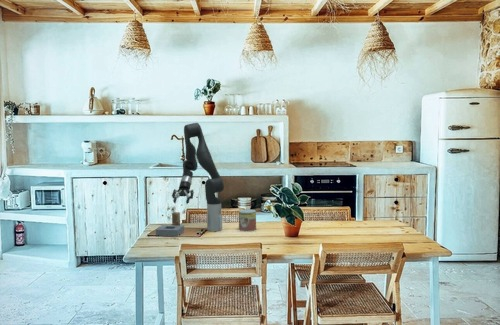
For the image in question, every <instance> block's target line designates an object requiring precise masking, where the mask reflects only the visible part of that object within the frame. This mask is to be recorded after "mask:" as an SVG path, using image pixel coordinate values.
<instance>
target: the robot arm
mask: <svg viewBox="0 0 500 325" xmlns="http://www.w3.org/2000/svg"><path fill="white" fill-rule="evenodd" d="M203 133H204V132H203V130H202V126H201V125H200V123H198V122H193V123H188V124H185V125H184V127H183V136H184V137H183V138H184V143H185V145H184V146H185V160H184V161H183V162H182V171H183V172H182V176H181V179H180V182H179V187H178V189H177V190H176V189H173V191H172V193H171V198H172V199H173V201H172V202H173V203H174V204H176V203H177V201H178V200H177V199H178V198H180V197H186V201H185V202H186V205H188V204H189V203H190V200H193V199H194V193H195V192H194V190H193V189H191V185H192V180H193V176H194V173H193V171H194V172H195V171H197V169H198V164H199V166H200V167H201V168H202V169H203V170H204V171H206V172H207V173H208V174H209V176H210V178H208V179H206V180H205V183H204V192H205V200H206V224H207V226H206V228H207V231H209V232H220V231H222V229H223V213H222V199H221V198H219V197H217V196H216V193H221V192H223V191H224V187H225V186H224V181H223V178H222V177H221V176H220V173H219V172H218V169H217V167H216V165H215V163H214V160H213V156H212V154H211V152H210V150H209V148H208V144H207V142H206V140H205V135H204V134H203ZM192 138H197V139H198V144H197V147H195V145H193V143H192V142H191V139H192ZM196 148H197V149H196ZM189 194H190V195H189Z"/></svg>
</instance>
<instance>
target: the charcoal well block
mask: <svg viewBox="0 0 500 325" xmlns="http://www.w3.org/2000/svg"><path fill="white" fill-rule="evenodd" d="M183 231H184V232H185V225H180V226H175V225H172V224H171V225H169V224H167V225H165V224H163V225H161V226H158V227H157V228H155V236H156V237H174V236H178V235H179V234H181V233H182V232H183ZM184 232H183V233H184ZM183 233H182V234H183ZM182 234H181V235H182ZM158 235H159V236H158ZM162 235H164V236H162ZM165 235H166V236H165ZM167 235H169V236H167ZM179 236H180V235H179ZM179 236H178V237H179Z"/></svg>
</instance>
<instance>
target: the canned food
mask: <svg viewBox="0 0 500 325" xmlns="http://www.w3.org/2000/svg"><path fill="white" fill-rule="evenodd" d="M238 230H239V231H241V232H254V231H256V230H257V210H255V209H250V208H249V209H240V210H238Z"/></svg>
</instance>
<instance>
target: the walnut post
mask: <svg viewBox="0 0 500 325" xmlns="http://www.w3.org/2000/svg"><path fill="white" fill-rule="evenodd" d="M171 223H172V224H171V225H175V226H181V212H180V211H178V212H176V211H173V212H171Z"/></svg>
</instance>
